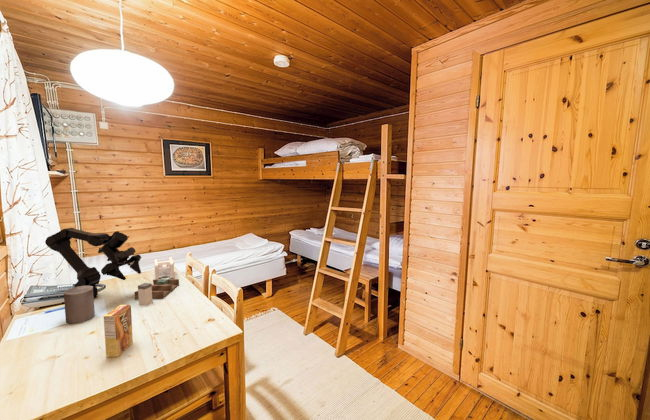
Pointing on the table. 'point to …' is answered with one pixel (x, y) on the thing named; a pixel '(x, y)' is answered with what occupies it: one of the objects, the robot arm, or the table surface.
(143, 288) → the tan lidded canister
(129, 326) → the candy box
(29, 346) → the table surface
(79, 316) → the pillar candle
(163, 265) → the cable organizer
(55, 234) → the robot arm
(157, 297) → the brown compartment tray
